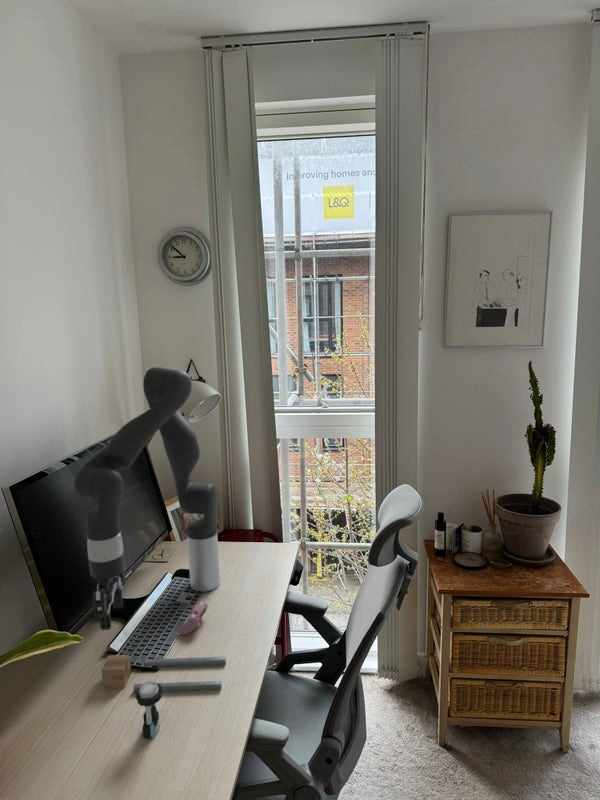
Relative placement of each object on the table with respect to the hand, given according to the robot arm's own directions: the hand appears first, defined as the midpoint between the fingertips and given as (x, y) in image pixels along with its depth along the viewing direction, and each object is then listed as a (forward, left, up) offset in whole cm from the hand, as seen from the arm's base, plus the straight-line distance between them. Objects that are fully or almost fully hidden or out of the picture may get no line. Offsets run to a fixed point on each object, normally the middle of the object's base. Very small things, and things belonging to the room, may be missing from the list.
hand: (112, 617), depth 124 cm
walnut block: (0, 0, -16) cm, 16 cm away
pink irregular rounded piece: (-20, +14, -16) cm, 30 cm away
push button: (+15, +12, -16) cm, 25 cm away
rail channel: (0, +15, -16) cm, 22 cm away
